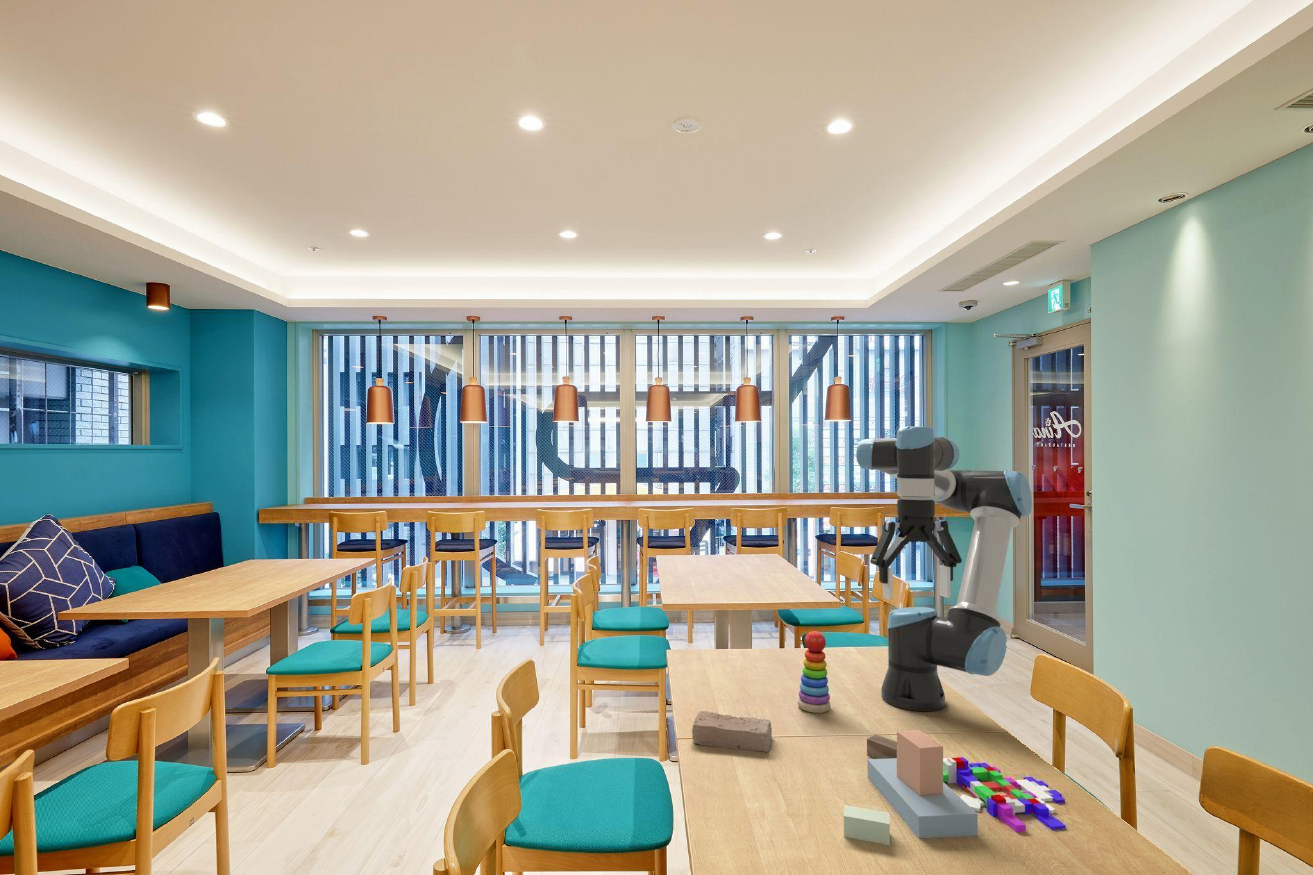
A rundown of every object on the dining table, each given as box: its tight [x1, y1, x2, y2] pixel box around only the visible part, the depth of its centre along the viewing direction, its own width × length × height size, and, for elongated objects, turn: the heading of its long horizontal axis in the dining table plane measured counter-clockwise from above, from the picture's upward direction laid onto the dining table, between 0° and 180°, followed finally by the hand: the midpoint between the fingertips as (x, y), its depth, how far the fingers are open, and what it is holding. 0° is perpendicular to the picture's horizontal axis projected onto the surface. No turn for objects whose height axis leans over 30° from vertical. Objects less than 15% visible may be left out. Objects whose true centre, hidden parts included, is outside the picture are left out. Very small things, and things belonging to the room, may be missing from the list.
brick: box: [691, 710, 773, 753], centre depth 140 cm, size 17×8×5 cm, turn 77°
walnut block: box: [866, 734, 897, 759], centre depth 132 cm, size 4×7×4 cm, turn 41°
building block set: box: [943, 756, 1067, 833], centre depth 119 cm, size 25×20×4 cm
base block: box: [867, 758, 979, 839], centre depth 114 cm, size 10×20×4 cm, turn 5°
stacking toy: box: [797, 630, 832, 714], centre depth 159 cm, size 8×8×19 cm
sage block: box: [843, 804, 891, 846], centre depth 105 cm, size 4×7×4 cm, turn 71°
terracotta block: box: [896, 729, 944, 796], centre depth 114 cm, size 4×7×8 cm, turn 12°
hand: (916, 597), depth 138 cm, fingers open, 13 cm apart
